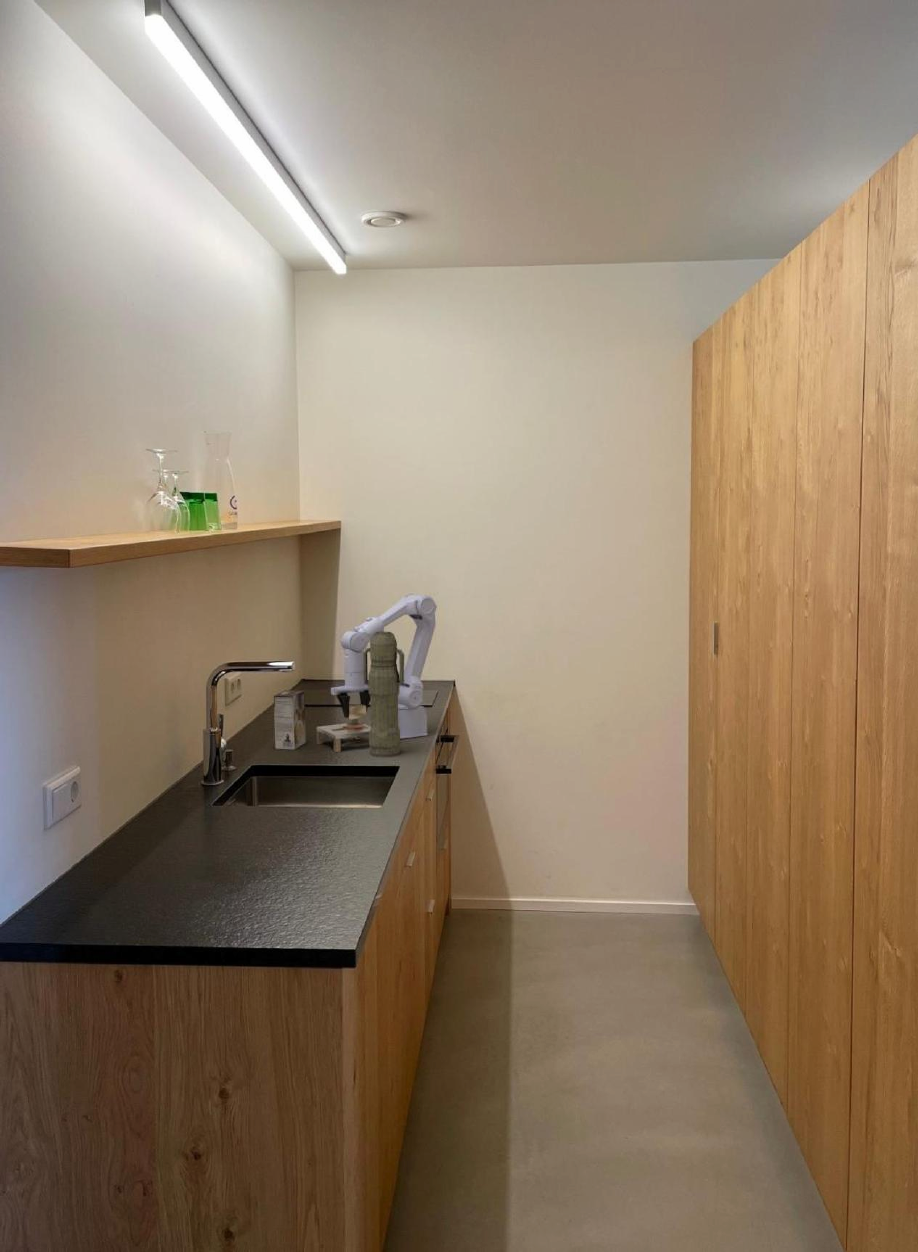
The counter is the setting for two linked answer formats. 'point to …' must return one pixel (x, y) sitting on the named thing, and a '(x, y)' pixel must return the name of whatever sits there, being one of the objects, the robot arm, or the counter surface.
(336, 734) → the keyhole stand
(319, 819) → the counter surface
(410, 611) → the robot arm
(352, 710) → the peg
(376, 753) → the thermos
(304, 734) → the coffee box
